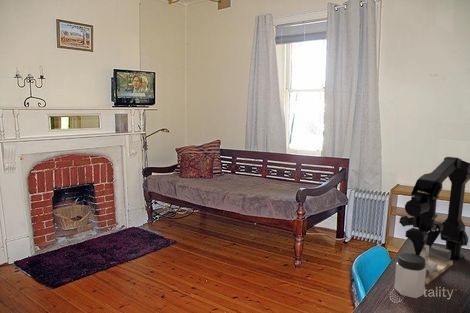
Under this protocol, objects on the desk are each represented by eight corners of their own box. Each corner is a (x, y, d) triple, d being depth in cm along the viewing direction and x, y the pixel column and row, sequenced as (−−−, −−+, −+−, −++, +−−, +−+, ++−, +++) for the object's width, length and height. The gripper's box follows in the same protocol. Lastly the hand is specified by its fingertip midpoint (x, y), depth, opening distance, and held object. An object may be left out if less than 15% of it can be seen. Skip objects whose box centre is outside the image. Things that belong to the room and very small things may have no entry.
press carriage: (415, 261, 138) (416, 239, 137) (437, 269, 132) (439, 245, 131) (405, 267, 133) (407, 244, 132) (428, 275, 127) (430, 251, 126)
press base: (425, 256, 148) (426, 243, 147) (452, 264, 140) (453, 251, 139) (398, 273, 132) (400, 259, 131) (427, 284, 125) (428, 269, 124)
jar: (413, 301, 114) (416, 265, 112) (389, 289, 121) (392, 256, 119) (428, 293, 119) (431, 259, 117) (405, 282, 126) (407, 250, 124)
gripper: (414, 202, 142) (411, 239, 144) (392, 211, 130) (389, 251, 132) (445, 208, 133) (441, 248, 136) (424, 218, 121) (421, 262, 124)
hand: (423, 252), depth 132 cm, fingers open, 9 cm apart
